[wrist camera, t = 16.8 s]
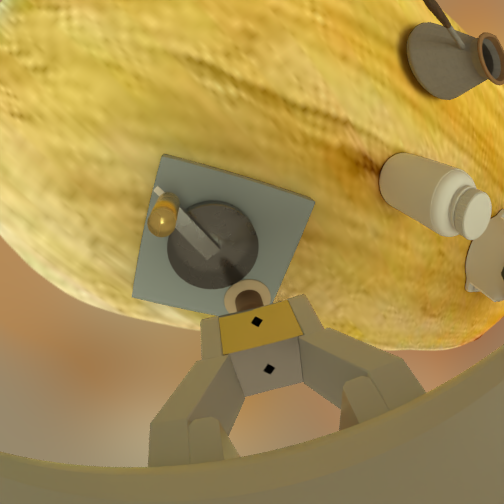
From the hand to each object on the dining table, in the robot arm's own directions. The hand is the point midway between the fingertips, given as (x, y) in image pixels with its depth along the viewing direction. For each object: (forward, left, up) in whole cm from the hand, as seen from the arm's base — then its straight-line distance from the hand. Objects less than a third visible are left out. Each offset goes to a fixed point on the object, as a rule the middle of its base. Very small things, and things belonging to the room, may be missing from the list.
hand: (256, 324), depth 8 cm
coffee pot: (-17, -25, -27) cm, 41 cm away
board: (-3, +9, -27) cm, 29 cm away
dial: (-1, +7, -25) cm, 26 cm away
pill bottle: (-24, -7, -27) cm, 37 cm away
